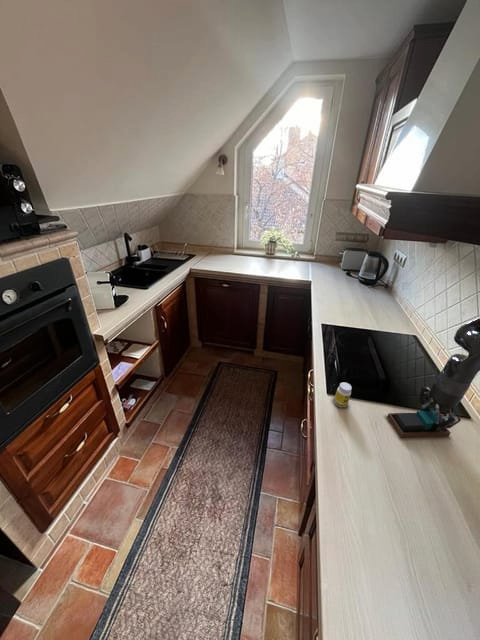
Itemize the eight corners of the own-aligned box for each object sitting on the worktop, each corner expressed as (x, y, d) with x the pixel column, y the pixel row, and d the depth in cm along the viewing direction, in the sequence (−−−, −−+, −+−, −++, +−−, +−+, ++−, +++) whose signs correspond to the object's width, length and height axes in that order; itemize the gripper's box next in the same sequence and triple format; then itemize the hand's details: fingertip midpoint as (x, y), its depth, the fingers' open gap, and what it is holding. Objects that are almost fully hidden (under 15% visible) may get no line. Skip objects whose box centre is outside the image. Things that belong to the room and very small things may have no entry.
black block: (410, 419, 88) (414, 412, 86) (420, 432, 84) (424, 425, 82) (392, 419, 87) (396, 413, 86) (401, 432, 83) (405, 425, 81)
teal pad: (431, 417, 88) (435, 410, 86) (442, 430, 83) (446, 423, 82) (413, 417, 87) (417, 410, 86) (423, 430, 83) (427, 423, 81)
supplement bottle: (342, 409, 91) (348, 393, 87) (331, 401, 95) (336, 385, 90) (349, 403, 94) (355, 386, 90) (338, 395, 97) (343, 379, 93)
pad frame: (430, 416, 90) (433, 412, 89) (448, 436, 83) (451, 432, 82) (386, 417, 89) (388, 413, 88) (400, 438, 82) (402, 434, 81)
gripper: (482, 404, 71) (455, 442, 79) (444, 370, 83) (424, 405, 92) (457, 405, 70) (432, 443, 79) (422, 370, 83) (404, 406, 91)
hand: (427, 422), depth 85 cm, fingers closed on teal pad, 5 cm apart
